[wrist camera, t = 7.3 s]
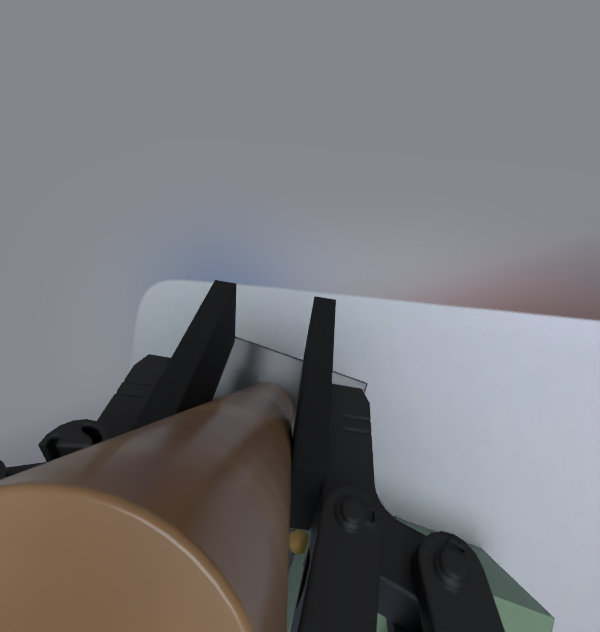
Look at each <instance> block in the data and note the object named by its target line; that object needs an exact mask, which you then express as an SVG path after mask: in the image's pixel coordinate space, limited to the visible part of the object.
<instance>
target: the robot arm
mask: <svg viewBox="0 0 600 632" xmlns="http://www.w3.org/2000/svg"><path fill="white" fill-rule="evenodd" d="M335 306H336V300H333V299H327V298H321V297H314V302H313V308H312V314H311V319H310V325H309V330H308V336H307V341H306V347H305V352H304V359H303V366H302V374H301V381H300V388H299V395H298V402H297V409H296V416H295V423H294V430H293V437H292V466H291V501H290V527H291V528H297V529H302V530H308V531H310V527H311V532H310V545H309V548H308V551H307V554H306V557H305V560H304V563H303V566H304V568H303V573H302V577H301V582H300V587H299V591H298V596H297V601H296V606H295V610H294V615H293V620H292V624H291V629H290V632H376V631H377V615H378V613H379V614H381V615H382V616H384V617H385V618H386V622H387V629H388V632H505V630H504V627H503V624H502V621H501V618H500V615H499V612H498V609H497V606H496V603H495V600H494V597H493V595H492V592H491V589H490V586H489V583H488V580H487V577H486V574H485V571H484V568H483V566H482V564H481V562H480V560H479V558H478V556H477V554H476V553H475V552H474V551H473V550H472V549H471V547H470V546H469V545H468V544H467V543H466V542H465V541H463V540H462V539H460V538H459V537H457V536H456V535H454V534H450V533H447V532H443V531H440V532H434V533H430V534H429V535H428V536H426V535H424V534H422V533H420V532H418V531H417V530H415V529H413V528H411V527H409V526H407V525H405V524H403V523H401V522H400V521H398V520H397V519H395V518H394V517H393V516H392V515H391V514H390V513H389V512H388V511H386V510H385V508H384V507H383V505H382V504H381V502H380V501H379V498H378V496H377V494H376V490H375V484H374V468H373V452H372V436H371V422H370V403H369V401H368V400H367V398H366V396H365V394H364V392H363V390H362V389H361V388H355V387H349V386H343V385H337V384H332V370H333V349H334V327H335ZM235 315H236V284H235V283H229V282H223V281H217V280H215V281H214V283H213V285H212V287H211V288H210V290H209V292H208V294H207V296H206V297H205V299H204V301H203V303H202V304H201V306H200V308H199V310H198V311H197V313H196V315H195V317H194V319H193V320H192V322H191V324H190V326H189V327H188V329H187V331H186V333H185V334H184V336H183V338H182V340H181V342H180V343H179V345H178V347H177V349H176V350H175V352H174V354H173V356H172V357H171V358H168V357H162V356H156V355H150V354H149V355H147V356H146V357H145V358H143V359H142V360H141V361H139V362H138V363H137V364H135V365H134V366H133V368H132V369H131V371H130V372H129V374H128V375H127V377H126V378H125V381H124V382H123V383H122V384H121V386H120V387H119V389H118V390H117V393H116V394H115V395H114V396H113V398H112V399H111V401H110V402H109V404H108V405H107V407H106V408H105V410H104V411H103V413H102V414H101V416H100V417H99V419H98V420H97V421H92V420H88V419H85V420H75V421H71V422H68V423H66V424H63V425H60V426H59V427H57V428H56V429H54V430H53V431H51V432H50V433H48V434H47V435H46V436H45V438H44V439H43V440H42V441H41V442H40V443H39V447H40V449H41V451H42V453H43V455H44V457H45V459H46V461H47V462H50V461H52V460H55V459H58V458H60V457H63V456H66V455H68V454H71V453H74V452H76V451H79V450H82V449H84V448H87V447H90V446H92V445H95V444H98V443H100V442H103V441H106V440H108V439H111V438H114V437H116V436H119V435H122V434H124V433H127V432H130V431H132V430H135V429H138V428H140V427H143V426H146V425H148V424H151V423H154V422H156V421H159V420H162V419H164V418H167V417H170V416H172V415H175V414H178V413H180V412H183V411H186V410H189V409H191V408H194V407H197V406H199V405H202V404H205V403H207V402H210V401H212V400H213V397H214V395H215V392H216V390H217V387H218V384H219V382H220V379H221V376H222V374H223V371H224V369H225V366H226V363H227V361H228V358H229V355H230V353H231V350H232V348H233V345H234V342H235ZM47 462H44V463H47ZM44 463H37V464H30V465H22V466H15V467H7V468H6V466H5V465H4V463H3V462H2V461H0V480H1V479H4V478H7V477H9V476H12V475H15V474H17V473H20V472H23V471H25V470H28V469H31V468H34V467H36V466H39V465H42V464H44Z"/></svg>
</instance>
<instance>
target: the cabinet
mask: <svg viewBox="0 0 600 632" xmlns="http://www.w3.org/2000/svg"><path fill="white" fill-rule="evenodd" d="M393 517H394V516H393ZM394 518H395V519H397V520H398V521H400V522H401V523H403V524H405V525H407V526H409V527H411V528H413V529H415V530H417V531H418V532H420V533H422V534H424V535H426V536H428V535H429V534H430V533H434V531H432V530H429V529H426V528H424V527H421V526H418V525H415V524H413V523H410V522H407V521H404V520H402V519H399V518H396V517H394ZM310 532H311V527H310V531H308V530H300V529H296V530H294V531H292V532H291V533H290V535H289V548H290V550H291V551H292V552H293V553H295V554H294V557H293V560H292V563H291V567H290V570H289V573H288V601H287V632H290V629H291V624H292V620H293V615H294V610H295V606H296V601H297V596H298V591H299V587H300V582H301V577H302V573H303V568H304V566H303V563H304V560H305V557H306V554H307V551H308V548H309V545H310ZM468 545H469V546H470V547H471V549H472V550H473V551H474V552H475V553H476V554H477V556H478V558H479V560H480V562H481V564H482V566H483V568H484V571H485V574H486V577H487V580H488V583H489V586H490V589H491V592H492V595H493V597H494V600H495V603H496V606H497V609H498V612H499V615H500V618H501V621H502V624H503V627H504V630H505V632H552V628H553V624H554V617H553V616H552V615H551V614H550V613H549V612H548V611H546V610H545V609H544V608H543V607H542V606H541V605H540V604H539V603H538V602H537V601H536V600H535V599H534V598H533V597H532V596H531V595H530V594H529V593H528V592H527V591H526V590H524V589H523V588H522V587H521V586H520V585H519V584H518V583H517V582H516V581H515V580H514V579H513V578H512V577H511V576H510V575H509V574H508V573H507V572H506V571H505V570H503V569H502V568H501V567H500V566H499V565H498V564H497V563H496V562H495V561H494V560H493V559H492V558H491V557H490V556H489V555H488V554H487V553H486V552H485V551H484V550H483V549H481V548H478V547H475V546H473V545H470V544H468ZM376 632H388V629H387V622H386V618H385V617H384V616H382V615H381V614H379V613H378V615H377V631H376Z"/></svg>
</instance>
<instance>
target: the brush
mask: <svg viewBox="0 0 600 632" xmlns="http://www.w3.org/2000/svg"><path fill="white" fill-rule="evenodd" d="M302 366H303V360H300V359H297V358H294V357H292V356H289V355H286V354H283V353H280V352H277V351H275V350H272V349H269V348H266V347H263V346H260V345H258V344H255V343H252V342H249V341H246V340H243V339H241V338H238V337H235V342H234V345H233V348H232V350H231V353H230V355H229V358H228V361H227V363H226V366H225V369H224V371H223V374H222V376H221V379H220V382H219V384H218V387H217V390H216V392H215V395H214V397H213V400H212V401H210V402H207V403H205V404H202V405H199V406H197V407H194V408H191V409H189V410H186V411H183V412H180V413H178V414H175V415H172V416H170V417H167V418H164V419H162V420H159V421H156V422H154V423H151V424H148V425H146V426H143V427H140V428H138V429H135V430H132V431H130V432H127V433H124V434H122V435H119V436H116V437H114V438H111V439H108V440H106V441H103V442H100V443H98V444H95V445H92V446H90V447H87V448H84V449H82V450H79V451H76V452H74V453H71V454H68V455H66V456H63V457H60V458H58V459H55V460H52V461H50V462H47V463H44V464H42V465H39V466H36V467H34V468H31V469H28V470H25V471H23V472H20V473H17V474H15V475H12V476H9V477H7V478H4V479H1V480H0V632H287V601H288V568H289V534H290V501H291V466H292V437H293V430H294V423H295V416H296V409H297V402H298V395H299V388H300V381H301V374H302ZM332 384H337V385H343V386H349V387H355V388H361V389H362V390H363V392H364V393H365V390H366V387H367V383H365V382H363V381H360V380H357V379H354V378H351V377H348V376H346V375H343V374H340V373H337V372H334V371H332Z"/></svg>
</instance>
